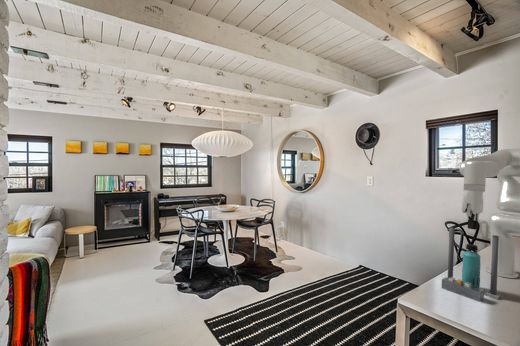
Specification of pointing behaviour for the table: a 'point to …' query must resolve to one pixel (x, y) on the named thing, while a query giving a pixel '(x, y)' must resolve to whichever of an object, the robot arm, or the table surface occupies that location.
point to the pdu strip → (463, 288)
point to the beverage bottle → (471, 266)
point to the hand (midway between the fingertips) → (472, 228)
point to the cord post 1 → (451, 252)
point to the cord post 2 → (494, 269)
